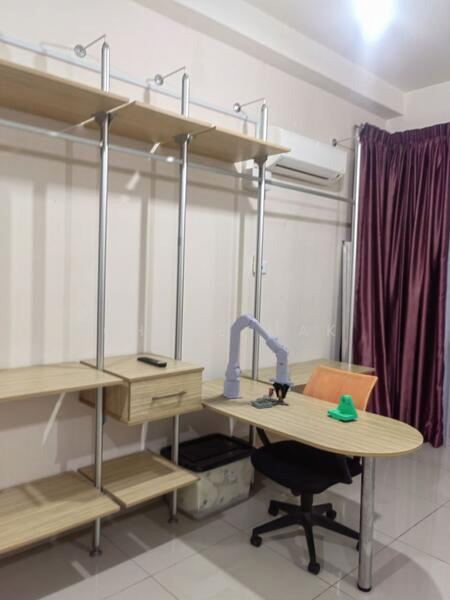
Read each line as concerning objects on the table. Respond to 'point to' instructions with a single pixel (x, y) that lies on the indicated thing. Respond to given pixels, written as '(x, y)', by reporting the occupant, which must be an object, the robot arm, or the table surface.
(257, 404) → the tray
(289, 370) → the ink cartridge box
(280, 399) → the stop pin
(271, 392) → the crank
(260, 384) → the table surface
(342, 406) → the camera mount
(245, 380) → the table surface
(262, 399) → the dark gray disc
